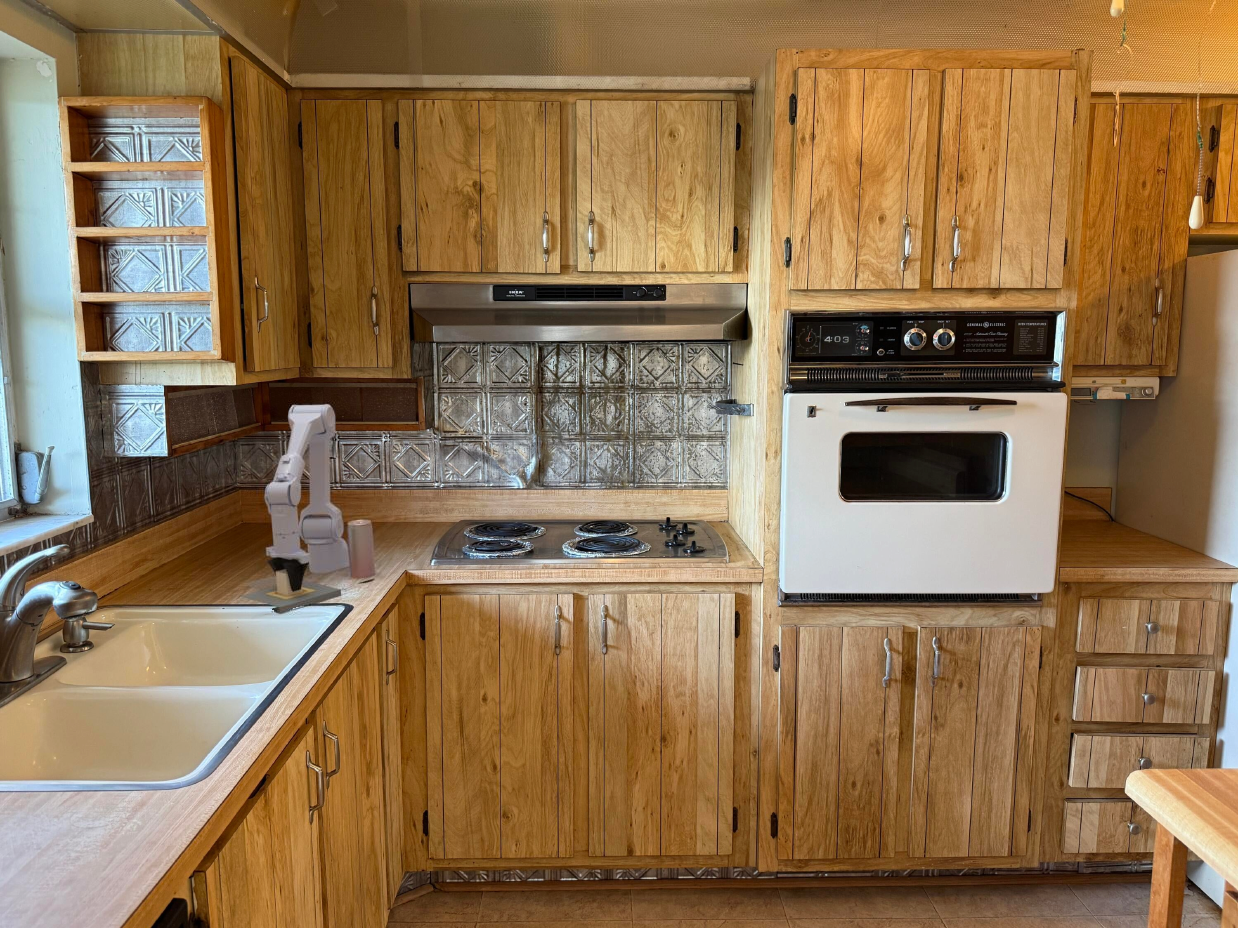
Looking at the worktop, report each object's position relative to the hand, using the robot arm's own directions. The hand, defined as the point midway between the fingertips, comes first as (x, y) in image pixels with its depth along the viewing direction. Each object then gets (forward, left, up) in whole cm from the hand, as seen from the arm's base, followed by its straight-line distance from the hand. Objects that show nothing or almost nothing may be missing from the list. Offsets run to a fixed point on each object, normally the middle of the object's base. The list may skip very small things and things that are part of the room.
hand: (290, 588), depth 203 cm
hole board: (0, 0, -2) cm, 2 cm away
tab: (-2, -13, -2) cm, 13 cm away
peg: (0, 0, -2) cm, 2 cm away
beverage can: (-19, +2, -3) cm, 19 cm away
